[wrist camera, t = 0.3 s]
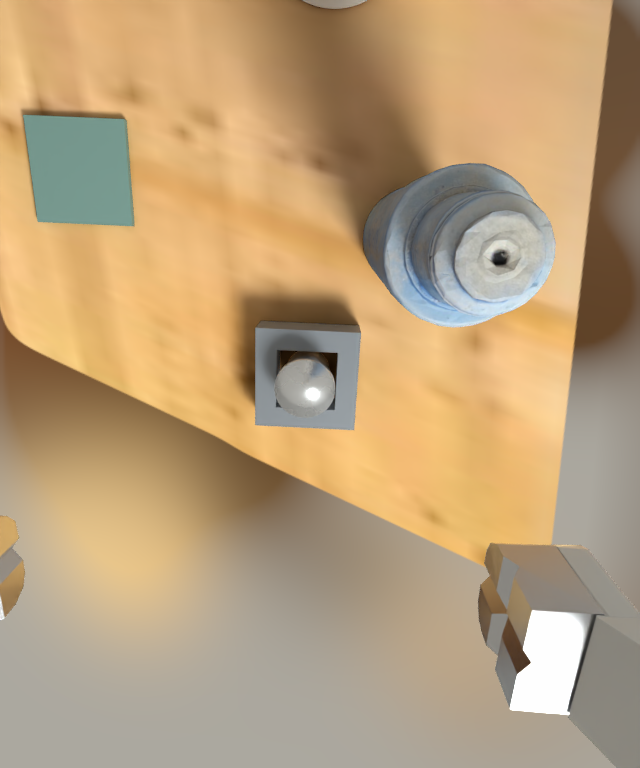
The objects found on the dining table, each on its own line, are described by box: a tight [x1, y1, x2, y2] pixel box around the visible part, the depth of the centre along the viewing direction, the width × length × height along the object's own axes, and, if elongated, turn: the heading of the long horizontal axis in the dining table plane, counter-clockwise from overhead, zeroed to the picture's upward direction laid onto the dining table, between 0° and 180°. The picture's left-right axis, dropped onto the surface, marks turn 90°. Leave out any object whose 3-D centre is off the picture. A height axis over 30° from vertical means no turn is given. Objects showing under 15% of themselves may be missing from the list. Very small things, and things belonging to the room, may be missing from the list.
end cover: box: [274, 351, 335, 418], centre depth 52 cm, size 6×6×7 cm
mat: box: [23, 115, 134, 226], centre depth 49 cm, size 10×10×1 cm
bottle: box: [363, 163, 556, 327], centre depth 36 cm, size 10×10×30 cm
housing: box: [255, 321, 361, 430], centre depth 53 cm, size 11×11×4 cm
